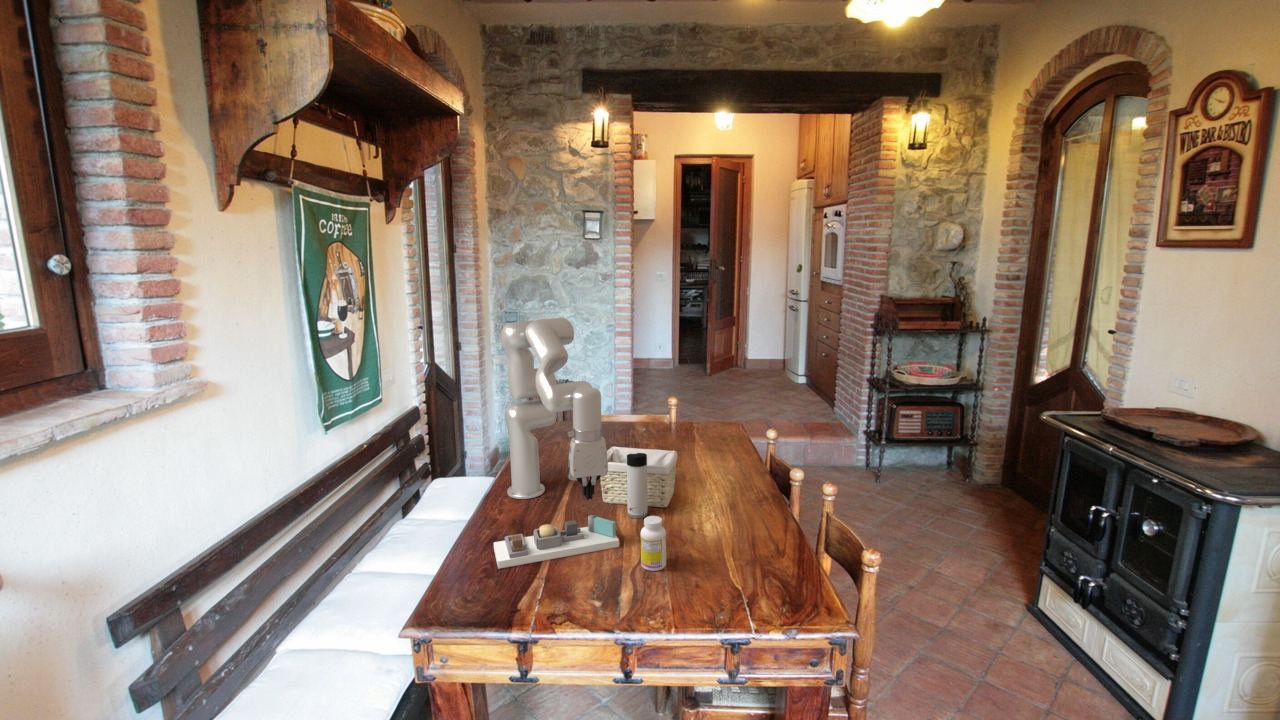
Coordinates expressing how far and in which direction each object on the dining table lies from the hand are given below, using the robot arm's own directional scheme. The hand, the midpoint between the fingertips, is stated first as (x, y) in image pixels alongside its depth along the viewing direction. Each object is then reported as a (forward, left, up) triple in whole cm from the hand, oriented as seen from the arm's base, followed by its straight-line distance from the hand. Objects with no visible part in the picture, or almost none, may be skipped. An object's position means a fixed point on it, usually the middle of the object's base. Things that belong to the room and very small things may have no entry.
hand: (588, 497), depth 163 cm
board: (-2, -9, -15) cm, 17 cm away
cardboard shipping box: (0, -20, -13) cm, 24 cm away
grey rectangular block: (-3, -4, -13) cm, 14 cm away
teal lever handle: (-2, +4, -12) cm, 13 cm away
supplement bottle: (+16, +13, -15) cm, 25 cm away
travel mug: (-14, +19, -15) cm, 28 cm away
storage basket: (-27, +24, -15) cm, 39 cm away
